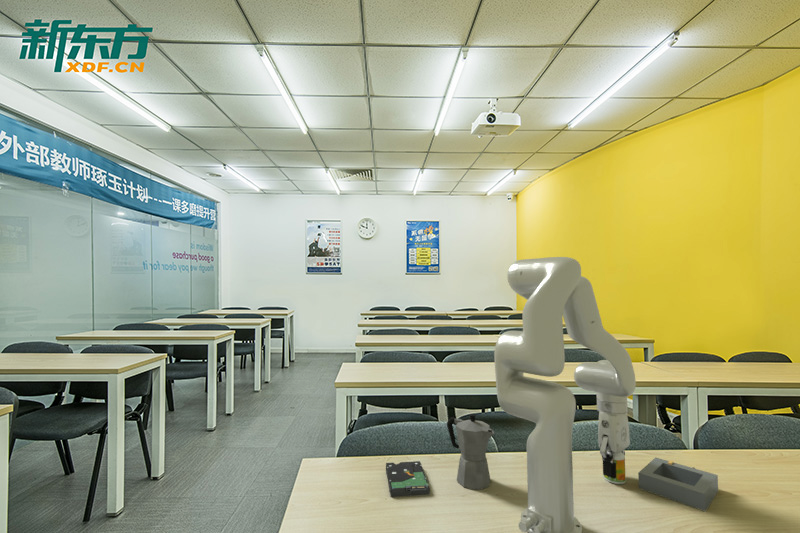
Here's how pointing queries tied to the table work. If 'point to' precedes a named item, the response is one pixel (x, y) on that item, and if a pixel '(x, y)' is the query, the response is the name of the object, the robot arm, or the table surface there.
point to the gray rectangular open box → (679, 483)
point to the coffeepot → (471, 451)
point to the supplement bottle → (618, 469)
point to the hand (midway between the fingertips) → (614, 472)
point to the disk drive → (407, 479)
